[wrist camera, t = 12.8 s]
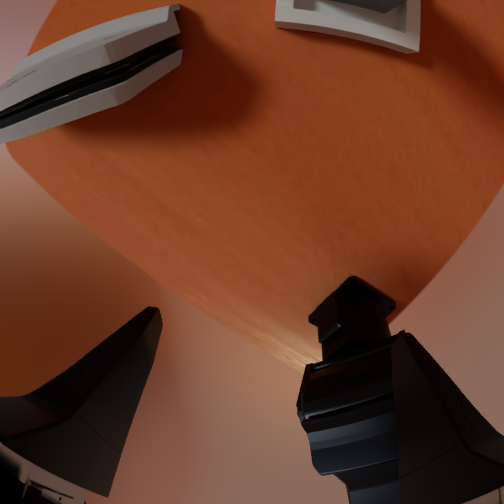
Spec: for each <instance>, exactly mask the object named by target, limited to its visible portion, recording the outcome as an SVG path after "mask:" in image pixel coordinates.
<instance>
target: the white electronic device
mask: <svg viewBox="0 0 504 504" xmlns="http://www.w3.org/2000/svg"><path fill="white" fill-rule="evenodd" d="M176 10H180V6H179V4H175V5H170V6H165V7H160V8H155V9H151V10H147V11H143V12H139V13H135V14H131V15H128V16H124V17H121V18H117V19H114V20H111V21H108V22H105V23H102V24H99V25H96V26H94V27H91V28H88V29H86V30H83V31H81V32H78V33H76V34H73V35H71V36H69V37H66V38H64V39H62V40H60V41H57V42H55V43H53V44H51V45H49V46H47V47H45V48H43V49H41V50H39V51H37V52H35V53H33V54H32V55H30V56H28V57H26V58H24V59H23V60H21V61H19V62H18V63H16V64H15V66H14V70H13V74H12V77H11V78H10V79H9V80H7V81H6V82H5V83H3V84H2V85H0V143H6V142H10V141H14V140H17V139H21V138H24V137H27V136H30V135H33V134H36V133H39V132H42V131H45V130H47V129H50V128H53V127H56V126H59V125H62V124H65V123H68V122H70V121H73V120H76V119H79V118H82V117H85V116H88V115H90V114H93V113H96V112H99V111H102V110H105V109H108V108H111V107H115V106H118V105H120V104H122V103H125V102H127V101H129V100H130V99H132V98H133V97H134V96H136V95H137V94H138V93H140V92H141V91H142V90H144V89H145V88H147V87H148V86H149V85H151V84H152V83H154V82H155V81H157V80H158V79H160V78H161V77H163V76H164V75H166V74H167V73H169V72H170V71H172V70H173V69H175V68H176V67H178V66H180V65H181V60H182V52H183V49H181V50H177V46H169V47H163V48H158V47H160V46H162V45H165V44H167V43H169V42H171V41H174V40H176V38H175V35H176V34H179V33H181V32H180V29H179V26H178V23H177V20H176V17H175V15H174V11H176ZM156 48H157V49H156Z"/></svg>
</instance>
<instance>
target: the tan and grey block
mask: <svg viewBox="0 0 504 504" xmlns="http://www.w3.org/2000/svg"><path fill="white" fill-rule="evenodd" d="M328 1H334V2H339V3H344V4H349V5H353V6H357V7H362V8H366V9H369V10H373V11H377V12H380V13H384V14H385V13H387V12H389V11H390V10H392V9H394V8H395V7H397V6H399V5H400V4H402V3H404V2H405V1H407V0H328Z"/></svg>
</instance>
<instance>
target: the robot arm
mask: <svg viewBox="0 0 504 504" xmlns="http://www.w3.org/2000/svg"><path fill="white" fill-rule="evenodd" d="M352 281H354V282H353V283H350V282H352ZM391 306H392V307H391ZM395 309H396V304H395V302H394V301H392V300H391V299H389V298H388V297H386V296H385V295H383V294H381V293H380V292H378V291H377V290H375V289H374V288H372V287H371V286H369V285H367V284H366V283H364V282H363V281H361V280H359V279H358V278H356V277H354V276H351V277H349V278H347V279H346V280H345V281H344V282H343V283H342V284H341V285H340V286H339V287H338V288H337V289H336V290H335V291H334V292H332V293H331V294H330V295H329V296H328V297H327V298H326V299H325V300H324V301H323V302H322V303H321V304H320V305H319V306H318V307H317V308H316V310H315V311H314V312H312V313H311V314H310V315H309V317H308V321H309V323H311V324H313V325H315V326H317V327H318V340H319V343H321V344H322V358H323V361H321V362H318V363H314V364H313V363H311V364H307V365H306V367H305V371H304V375H303V380H302V383H301V387H300V392H299V396H298V400H297V404H296V407H297V410H298V411H297V415H298V417H299V419H300V422H301V425H302V427H303V428H304V430H305V431H306V433H307V436H308V439H309V443H310V449H311V456H312V463H313V466H314V468H315V469H316V470H317V471H318V473H319V474H320V475H330V474H334V475H335V476H336V477H337V478H338V479H340V480H341V481H342V482H343V483H344V484H345V485H346V488H347V492H348V498H349V504H504V436H503V435H502V434H500V433H499V432H497V431H496V430H495V428H494V427H493V426H492V425H491V424H490V423H489V422H488V421H487V420H486V419H485V418H484V417H483V416H482V415H481V414H480V413H479V412H478V410H477V409H476V408H475V407H474V406H473V405H472V404H471V402H470V401H469V400H468V399H467V398H466V396H465V395H464V394H463V393H462V392H461V390H460V389H459V388H458V387H457V385H456V384H455V383H454V382H453V381H452V379H451V378H450V377H449V376H448V375H447V374H446V373H445V371H444V370H443V369H442V368H441V367H440V365H439V364H438V363H437V362H436V361H435V360H434V359H433V357H432V356H431V355H430V354H429V353H428V352H427V351H426V349H425V348H424V347H423V346H422V345H421V344H420V343H419V342H418V341H417V339H416V338H415V337H414V336H413V335H412V334H411V333H405V330H402V331H400V332H399V333H398V334H396V335H393V336H391V333H390V330H389V327H388V323H387V320H386V317H387V316H388V315H389V314H390V313H392V312H393V311H394V310H395ZM162 327H163V323H162V318H161V314H160V310H159V308H157V307H152V306H148V307H146V308H145V309H144V310H142V311H141V312H140V313H139V314H137V315H136V316H135V317H133V318H132V319H131V320H129V321H128V322H127V323H125V324H124V325H123V326H122V327H120V328H119V329H118V330H117V331H115V332H114V333H113V334H111V335H110V336H109V337H108V338H106V339H105V340H104V341H102V342H101V343H100V344H99V345H97V346H96V347H95V348H93V349H92V350H91V351H90V352H89V353H87V354H86V355H85V356H83V358H81V359H79V360H78V361H77V362H76V363H74V364H73V365H72V366H70V367H69V368H68V369H66V370H65V371H64V372H62V373H61V374H59V375H58V376H56V377H55V378H53V379H52V380H50V381H48V382H47V383H45V384H44V385H42V386H41V387H39V388H37V389H36V390H34V391H32V392H31V393H29V394H26V395H22V396H10V397H0V504H86V502H85V497H86V494H87V491H88V490H89V491H91V492H94V493H97V494H99V495H102V496H104V497H108V496H109V493H110V490H111V487H112V483H113V480H114V477H115V473H116V470H117V467H118V464H119V460H120V457H121V453H122V451H123V448H124V445H125V441H126V438H127V435H128V432H129V429H130V427H131V424H132V421H133V418H134V415H135V412H136V409H137V406H138V404H139V401H140V398H141V395H142V392H143V389H144V387H145V384H146V381H147V379H148V376H149V374H150V371H151V368H152V365H153V362H154V359H155V355H156V351H157V347H158V343H159V339H160V335H161V331H162Z"/></svg>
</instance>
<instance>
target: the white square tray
mask: <svg viewBox="0 0 504 504" xmlns="http://www.w3.org/2000/svg"><path fill="white" fill-rule="evenodd" d="M420 16H421V1H420V0H407V1H405V2H404V3H402V4H400V5H399V6H397V7H395V8H394V9H392V10H390V11H389V12H387V13H385V14H384V13H380V12H377V11H373V10H369V9H366V8H362V7H357V6H353V5H349V4H344V3H339V2H334V1H328V0H276V12H275V25H276V28H286V29H296V30H304V31H312V32H318V33H324V34H330V35H336V36H341V37H346V38H350V39H355V40H359V41H363V42H367V43H371V44H375V45H379V46H382V47H386V48H389V49H392V50H396V51H399V52H402V53H405V54H409V53H415V52H419V43H420Z"/></svg>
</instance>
